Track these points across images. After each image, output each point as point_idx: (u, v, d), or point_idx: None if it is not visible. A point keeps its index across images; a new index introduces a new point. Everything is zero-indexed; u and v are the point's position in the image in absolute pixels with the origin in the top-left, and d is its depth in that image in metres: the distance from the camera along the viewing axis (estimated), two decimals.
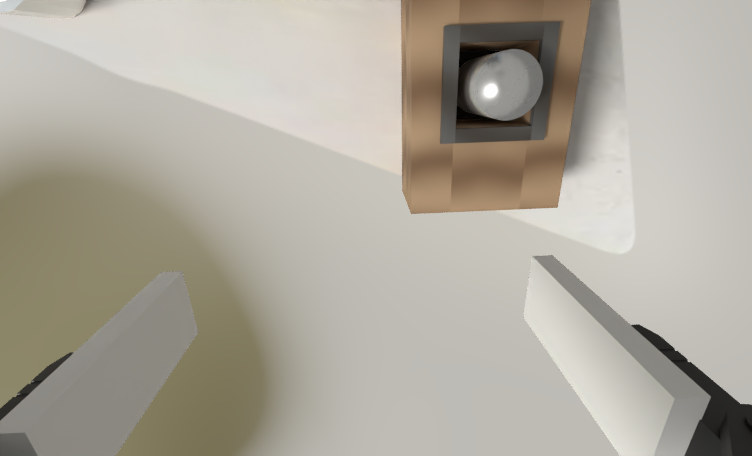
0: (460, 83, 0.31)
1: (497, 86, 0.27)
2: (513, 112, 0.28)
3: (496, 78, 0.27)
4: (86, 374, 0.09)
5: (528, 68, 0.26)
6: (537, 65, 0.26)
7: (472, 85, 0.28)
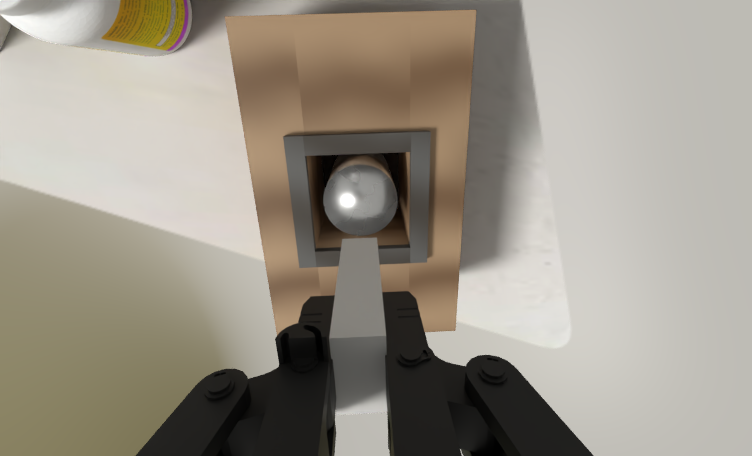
0: None
1: (346, 202, 0.24)
2: (369, 227, 0.25)
3: (344, 194, 0.24)
4: None
5: (379, 184, 0.24)
6: (388, 180, 0.24)
7: None
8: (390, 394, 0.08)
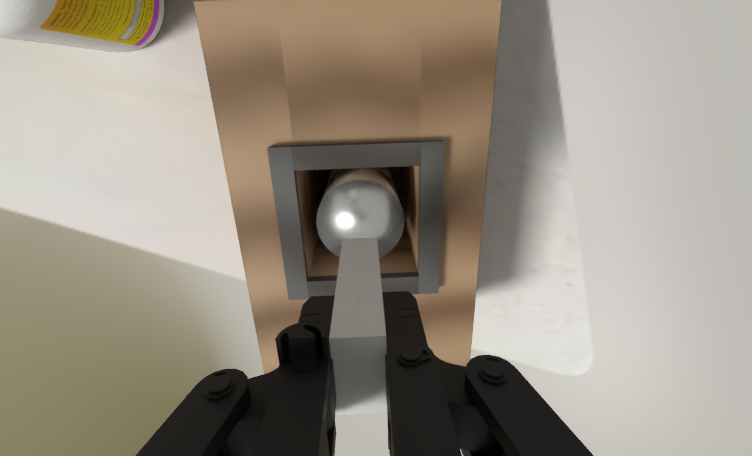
0: None
1: (344, 224, 0.20)
2: None
3: (341, 214, 0.20)
4: None
5: (382, 202, 0.20)
6: (394, 199, 0.20)
7: None
8: (390, 394, 0.08)
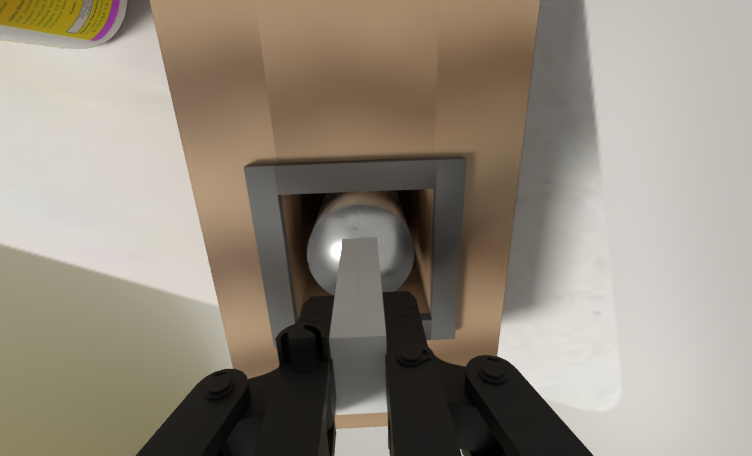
0: None
1: None
2: None
3: (337, 246, 0.16)
4: None
5: (387, 232, 0.16)
6: (402, 227, 0.16)
7: None
8: (390, 394, 0.08)
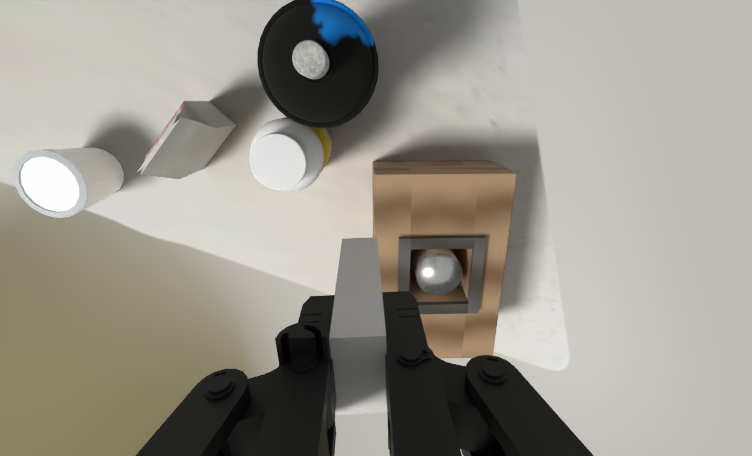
0: (411, 254, 0.43)
1: (430, 275, 0.39)
2: (442, 290, 0.39)
3: (430, 270, 0.38)
4: None
5: (451, 265, 0.38)
6: (458, 263, 0.38)
7: (415, 269, 0.40)
8: (390, 394, 0.08)
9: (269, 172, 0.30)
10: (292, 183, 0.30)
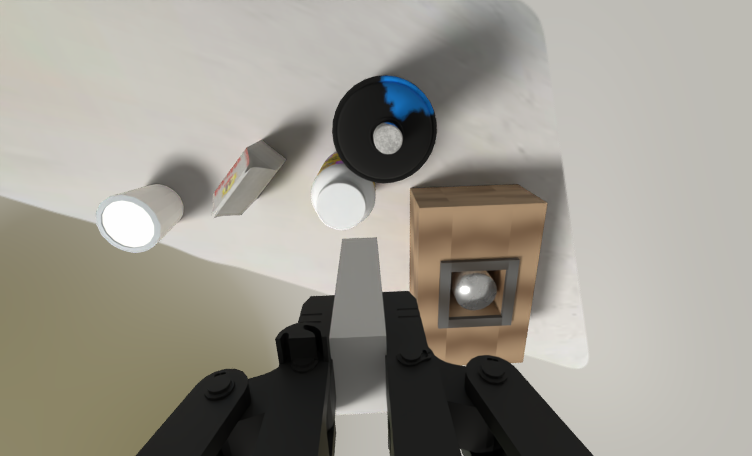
0: None
1: (468, 293, 0.43)
2: (478, 306, 0.44)
3: (467, 289, 0.43)
4: None
5: (487, 283, 0.42)
6: (493, 282, 0.42)
7: (453, 287, 0.44)
8: (390, 394, 0.08)
9: (333, 215, 0.33)
10: (353, 224, 0.34)
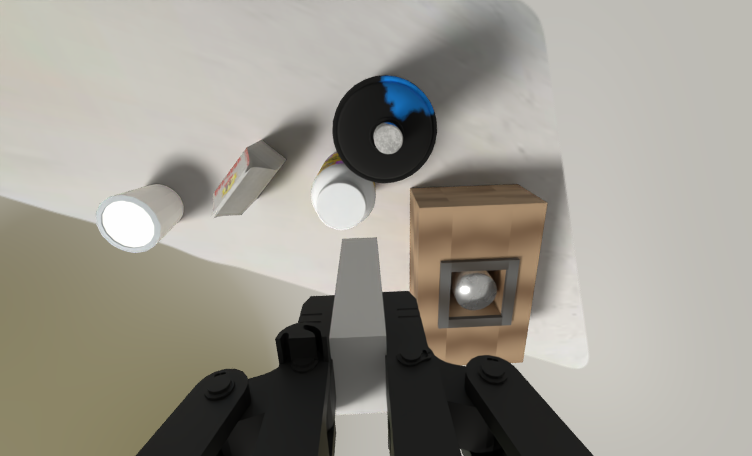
0: None
1: (468, 293, 0.43)
2: (479, 306, 0.44)
3: (467, 289, 0.43)
4: None
5: (487, 283, 0.42)
6: (493, 282, 0.42)
7: (453, 287, 0.44)
8: (390, 394, 0.08)
9: (333, 215, 0.33)
10: (353, 224, 0.34)
